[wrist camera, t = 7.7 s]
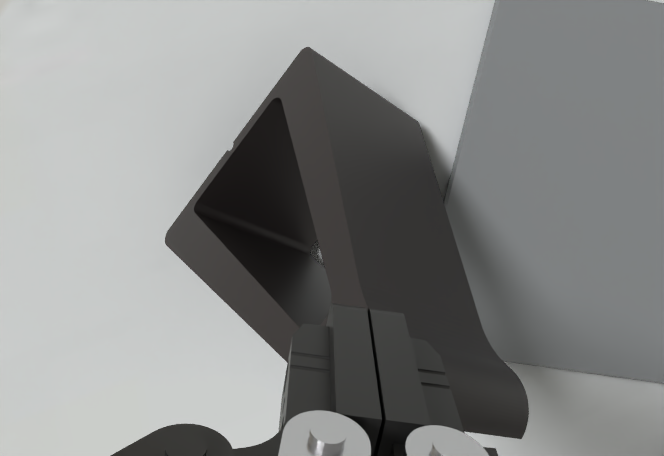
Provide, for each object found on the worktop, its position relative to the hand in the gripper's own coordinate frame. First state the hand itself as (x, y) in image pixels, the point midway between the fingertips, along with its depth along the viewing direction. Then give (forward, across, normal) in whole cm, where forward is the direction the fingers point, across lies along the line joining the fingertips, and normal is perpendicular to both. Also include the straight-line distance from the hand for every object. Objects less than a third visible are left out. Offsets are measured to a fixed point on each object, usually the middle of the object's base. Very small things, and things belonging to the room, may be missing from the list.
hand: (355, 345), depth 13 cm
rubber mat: (+14, -12, 0) cm, 18 cm away
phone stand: (+12, +2, 0) cm, 12 cm away
